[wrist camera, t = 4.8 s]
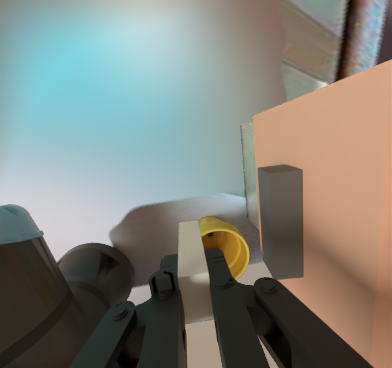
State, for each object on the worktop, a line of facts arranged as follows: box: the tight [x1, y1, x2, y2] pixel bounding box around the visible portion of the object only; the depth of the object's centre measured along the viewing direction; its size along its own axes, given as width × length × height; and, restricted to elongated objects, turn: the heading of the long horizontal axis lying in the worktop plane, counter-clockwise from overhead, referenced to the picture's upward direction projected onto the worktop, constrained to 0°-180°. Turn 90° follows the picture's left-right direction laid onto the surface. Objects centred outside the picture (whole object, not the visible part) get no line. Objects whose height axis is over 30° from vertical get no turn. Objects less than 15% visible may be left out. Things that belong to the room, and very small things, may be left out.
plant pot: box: [198, 217, 250, 280], centre depth 36 cm, size 10×10×10 cm
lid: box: [253, 60, 392, 368], centre depth 18 cm, size 19×19×4 cm
